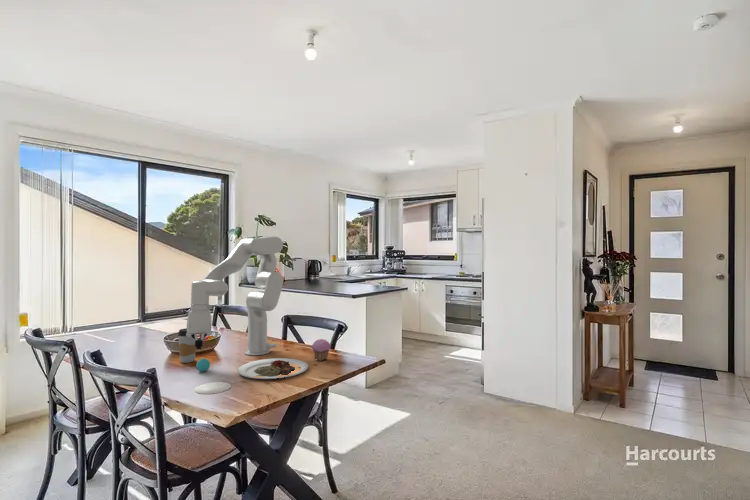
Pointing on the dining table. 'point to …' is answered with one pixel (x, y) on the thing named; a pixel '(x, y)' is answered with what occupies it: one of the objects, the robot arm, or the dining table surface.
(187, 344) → the coffee cup
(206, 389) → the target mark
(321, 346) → the cupcake
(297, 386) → the dining table surface
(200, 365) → the ball
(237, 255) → the robot arm
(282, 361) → the plated food
